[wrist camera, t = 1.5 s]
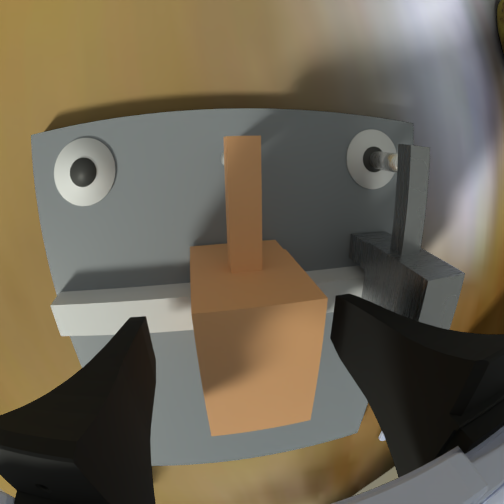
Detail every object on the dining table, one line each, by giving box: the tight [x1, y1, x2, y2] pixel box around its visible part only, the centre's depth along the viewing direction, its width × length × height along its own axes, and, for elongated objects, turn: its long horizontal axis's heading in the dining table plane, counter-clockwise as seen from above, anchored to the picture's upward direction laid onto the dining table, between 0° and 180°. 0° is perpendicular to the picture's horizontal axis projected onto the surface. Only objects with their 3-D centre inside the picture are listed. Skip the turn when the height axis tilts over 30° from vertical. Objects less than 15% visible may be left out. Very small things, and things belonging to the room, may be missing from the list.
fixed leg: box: [349, 144, 465, 330], centre depth 12 cm, size 2×9×6 cm, turn 0°
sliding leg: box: [190, 136, 328, 436], centre depth 11 cm, size 4×9×6 cm, turn 0°
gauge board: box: [31, 108, 413, 466], centre depth 15 cm, size 18×22×2 cm
